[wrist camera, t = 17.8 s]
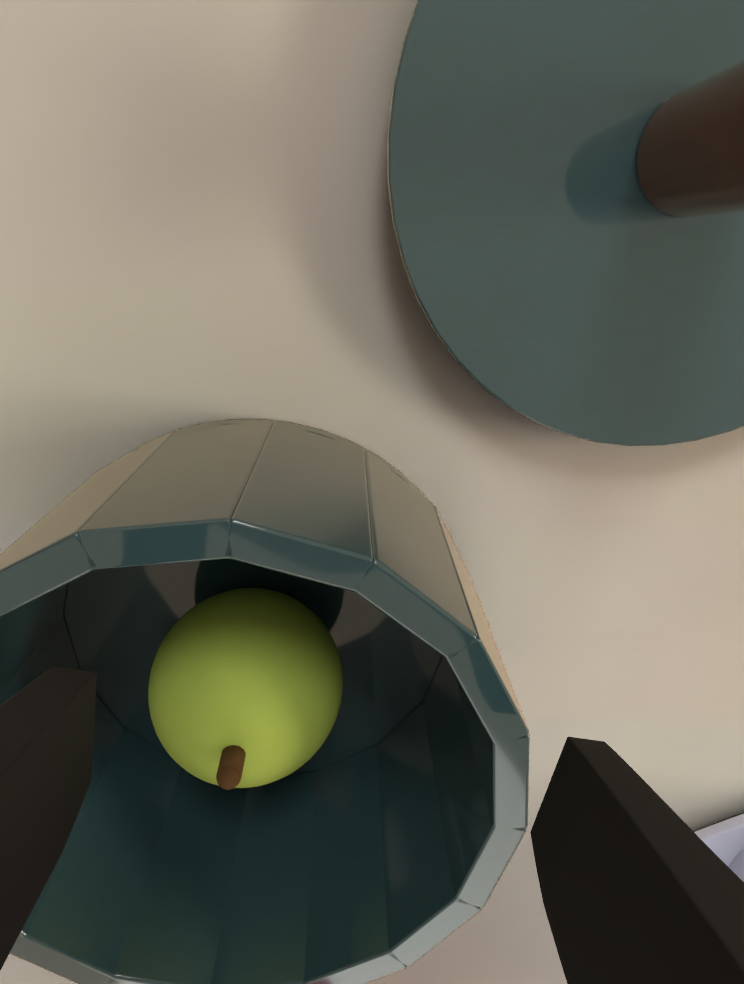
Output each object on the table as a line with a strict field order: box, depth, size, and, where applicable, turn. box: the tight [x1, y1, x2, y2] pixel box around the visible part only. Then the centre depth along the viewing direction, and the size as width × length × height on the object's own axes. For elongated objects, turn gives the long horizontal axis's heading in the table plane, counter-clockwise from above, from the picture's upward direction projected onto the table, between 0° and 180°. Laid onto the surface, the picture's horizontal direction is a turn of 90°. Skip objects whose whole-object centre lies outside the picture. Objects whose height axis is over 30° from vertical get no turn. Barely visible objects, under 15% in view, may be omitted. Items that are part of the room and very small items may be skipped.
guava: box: [148, 588, 343, 790], centre depth 15 cm, size 5×5×5 cm
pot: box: [0, 419, 530, 984], centre depth 15 cm, size 12×12×6 cm
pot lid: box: [387, 0, 744, 446], centre depth 11 cm, size 13×13×6 cm
